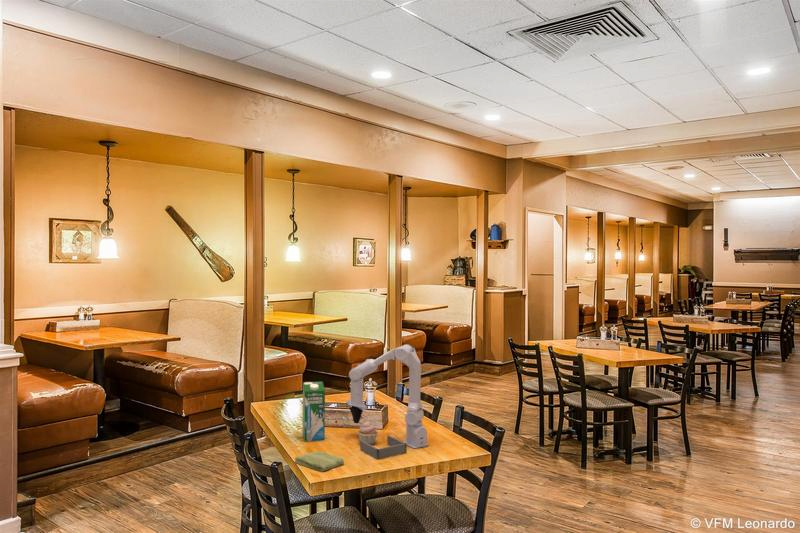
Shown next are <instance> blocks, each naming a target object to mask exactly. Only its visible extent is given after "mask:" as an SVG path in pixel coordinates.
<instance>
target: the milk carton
mask: <svg viewBox="0 0 800 533" xmlns="http://www.w3.org/2000/svg"><path fill="white" fill-rule="evenodd" d="M325 404H326V390H325V387H324V382H323V381H305V382H304V381H303V383H302V438H303V440H304V442H317V441H319V442H320V441H325V438H326V437H325V434H326V433H325V428H326V427H325V426H326V425H325V424H326V421H325V420H326V418H325V417H326V415H325V414H326V413H325V411H326V409H325V408H326V405H325Z"/></svg>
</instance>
